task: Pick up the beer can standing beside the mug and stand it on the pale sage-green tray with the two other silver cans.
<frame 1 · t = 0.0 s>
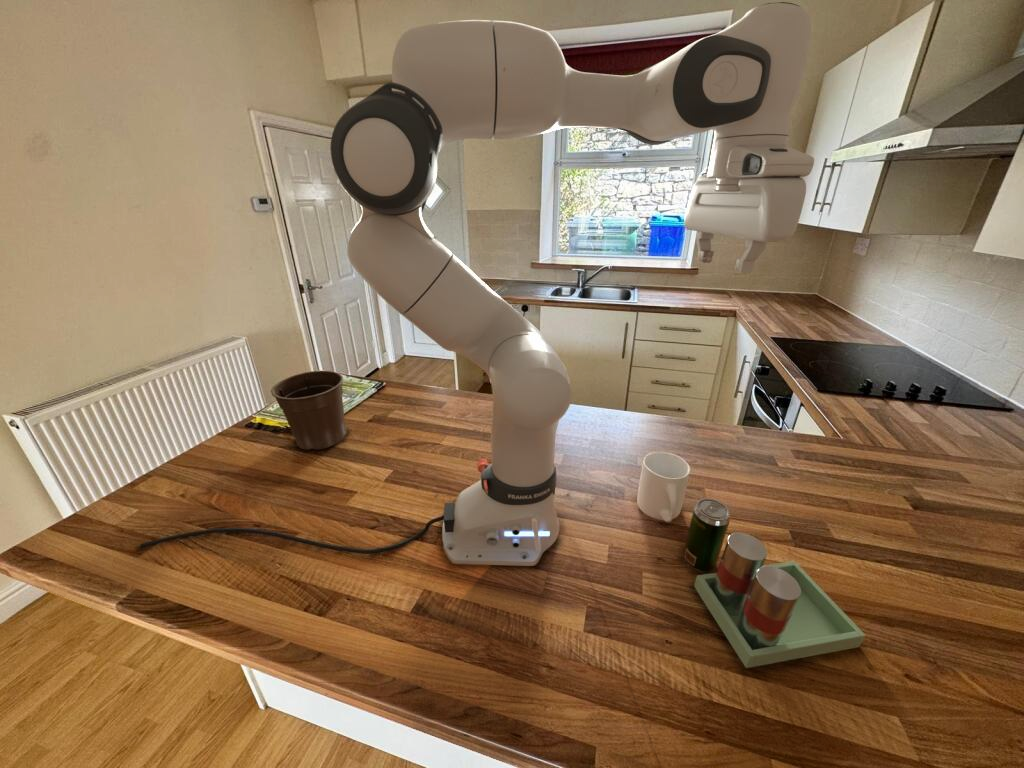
hand: (722, 267, 61), 48 cm above the worktop, tool pointing down, fingers open, 8 cm apart
can tray: (769, 616, 61), on the worktop
plant pot: (322, 438, 106), on the worktop
silver can left: (728, 600, 63), resting on can tray
silver can right: (754, 639, 57), resting on can tray
mug: (659, 513, 81), on the worktop
beer can: (698, 561, 70), on the worktop
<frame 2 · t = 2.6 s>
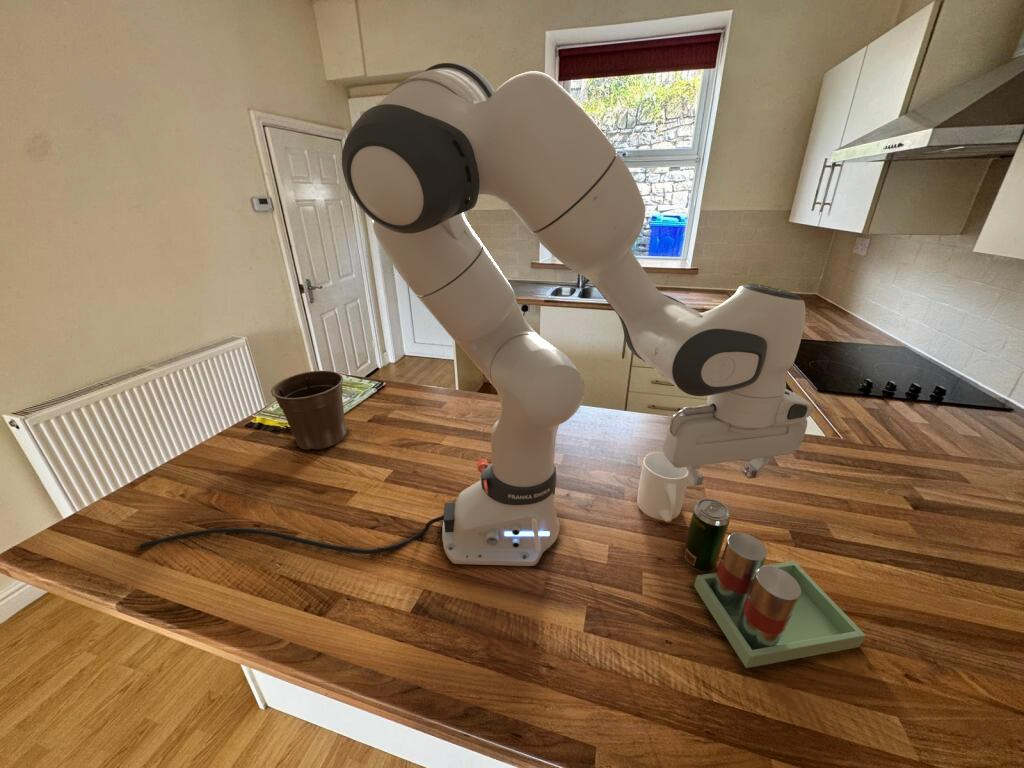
hand: (722, 479, 62), 18 cm above the worktop, tool pointing down, fingers open, 8 cm apart
nothing on the worktop moved.
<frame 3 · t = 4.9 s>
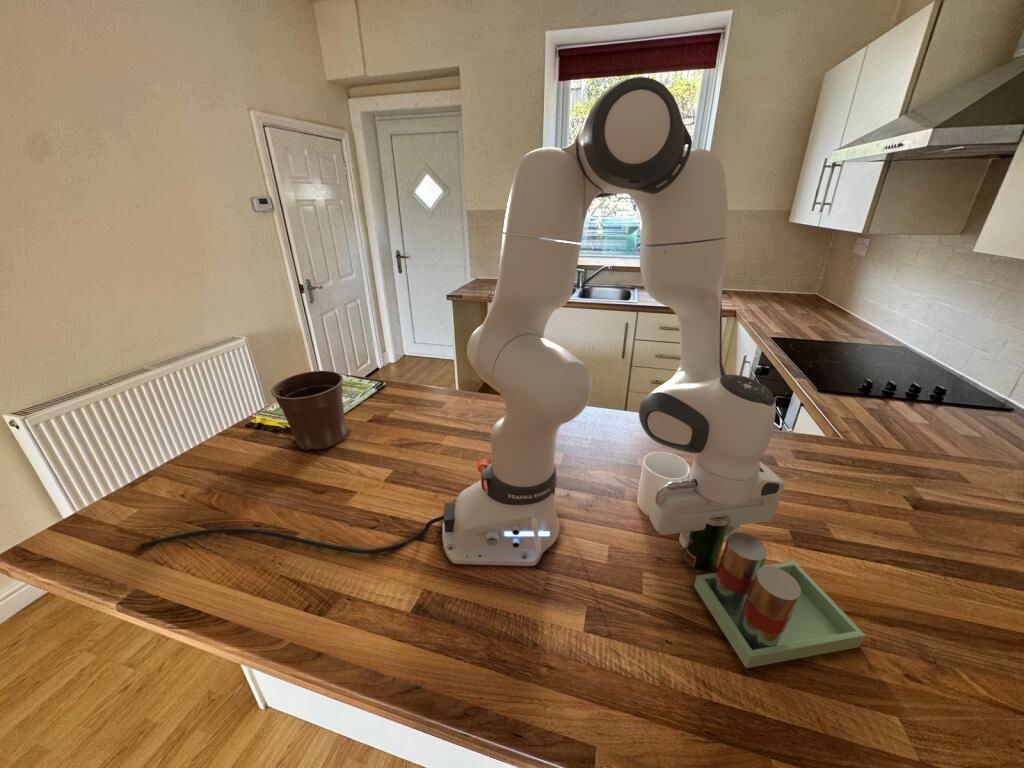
hand: (703, 541, 68), 5 cm above the worktop, tool pointing down, fingers closed on beer can, 5 cm apart
beer can: (698, 562, 70), on the worktop, touching gripper
everything else where it was.
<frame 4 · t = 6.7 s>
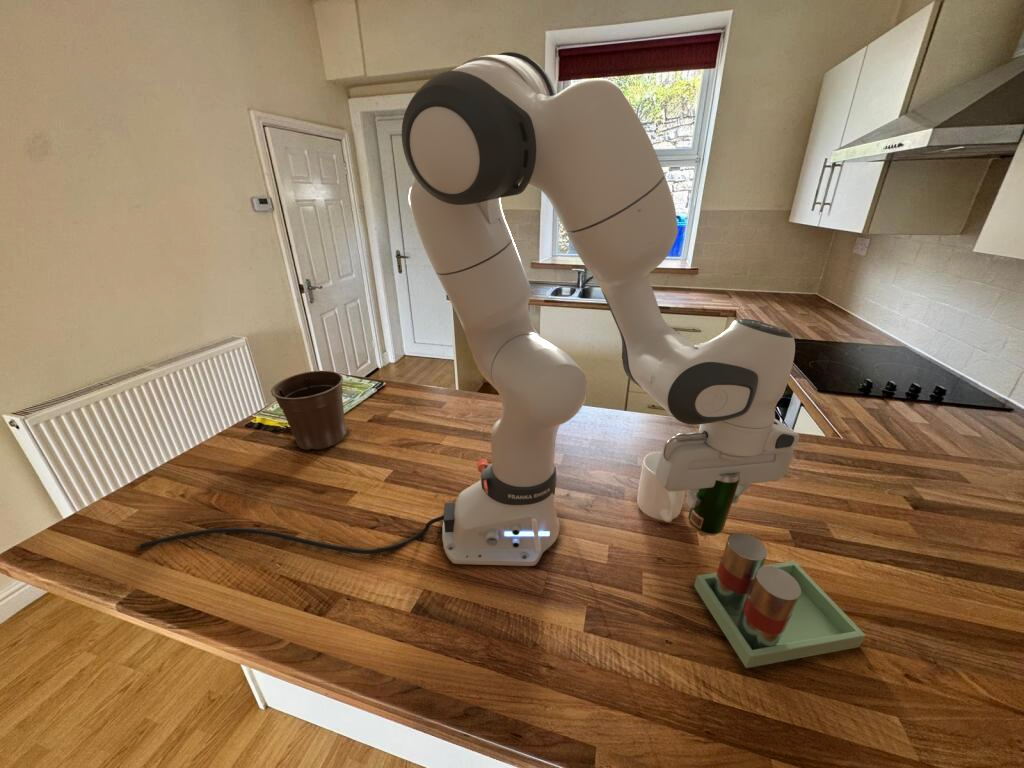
hand: (711, 503, 64), 13 cm above the worktop, tool pointing down, fingers closed on beer can, 5 cm apart
beer can: (704, 525, 67), point 8 cm above the worktop, touching gripper
everything else where it was.
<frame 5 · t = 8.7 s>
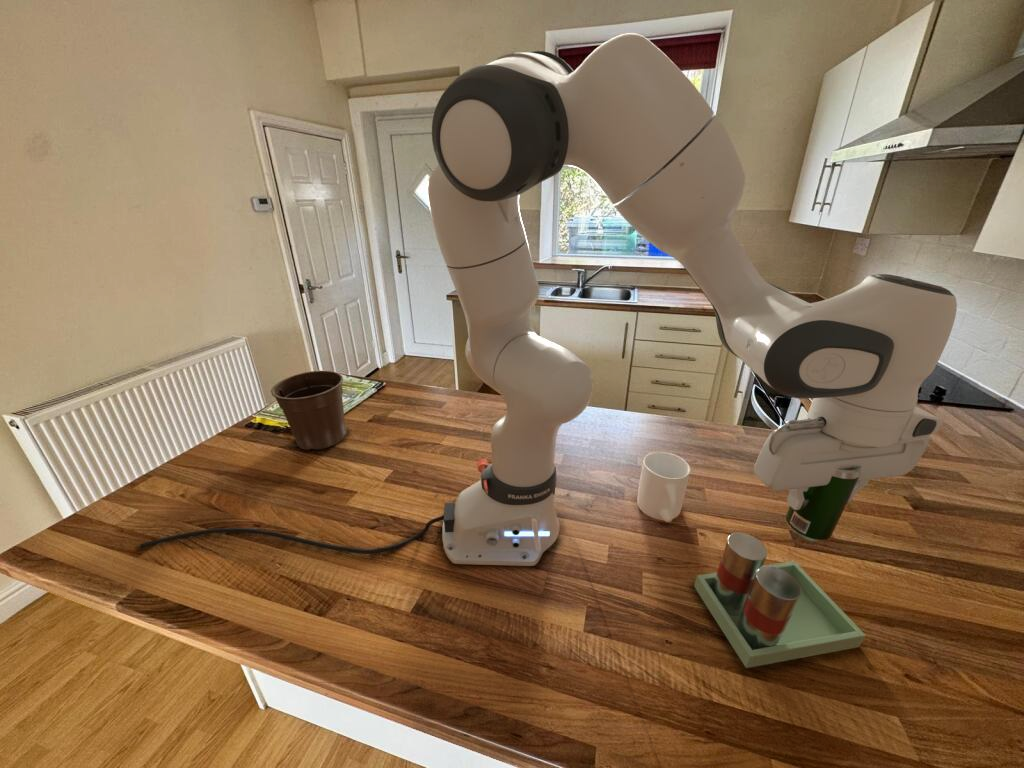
hand: (817, 503, 54), 20 cm above the worktop, tool pointing down, fingers closed on beer can, 5 cm apart
beer can: (806, 529, 56), point 16 cm above the worktop, touching gripper
everything else where it was.
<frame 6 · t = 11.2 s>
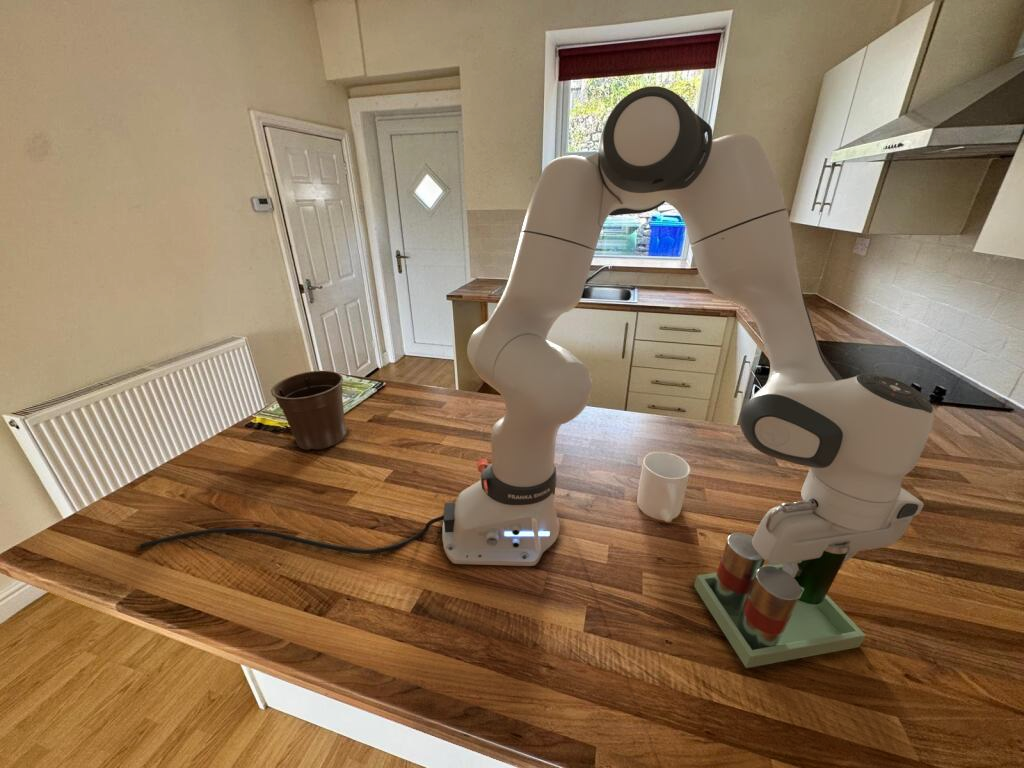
hand: (810, 569, 58), 9 cm above the worktop, tool pointing down, fingers closed on beer can, 5 cm apart
beer can: (800, 591, 60), point 4 cm above the worktop, touching gripper
everything else where it was.
when the fingers open (5 cm above the worktop, at t = 12.7 s): beer can stays where it is, resting on can tray.
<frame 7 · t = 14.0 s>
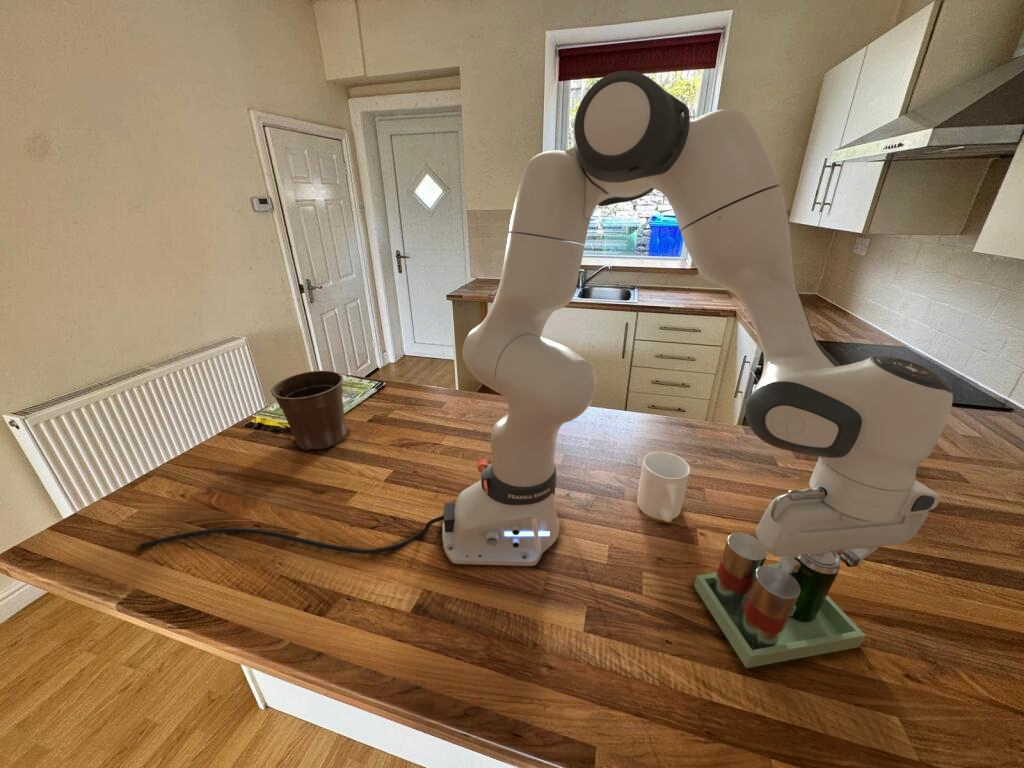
hand: (818, 566, 55), 12 cm above the worktop, tool pointing down, fingers open, 8 cm apart
beer can: (792, 609, 62), resting on can tray
everything else where it was.
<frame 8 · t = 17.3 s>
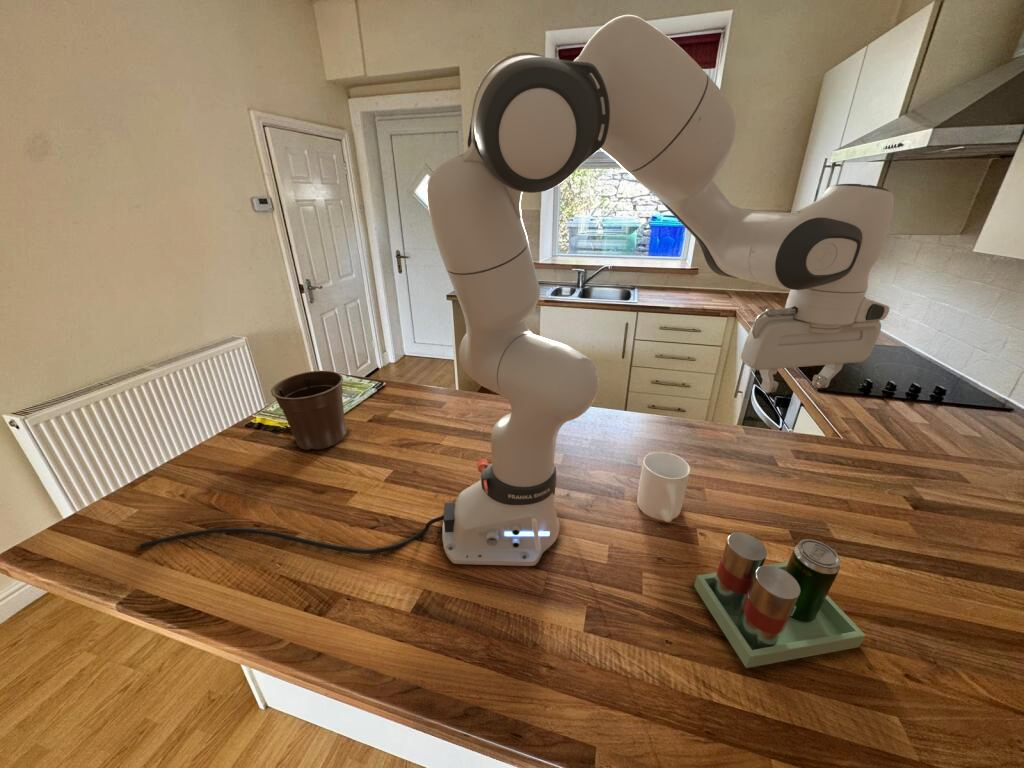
hand: (793, 388, 66), 29 cm above the worktop, tool pointing down, fingers open, 8 cm apart
nothing on the worktop moved.
at the end: beer can inside the target area in the can tray (4.1 cm from its centre), point 0.3 cm above the can tray's base; beer can tilted 0°; beer can 9.5 cm from the silver can left (horizontally) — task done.
